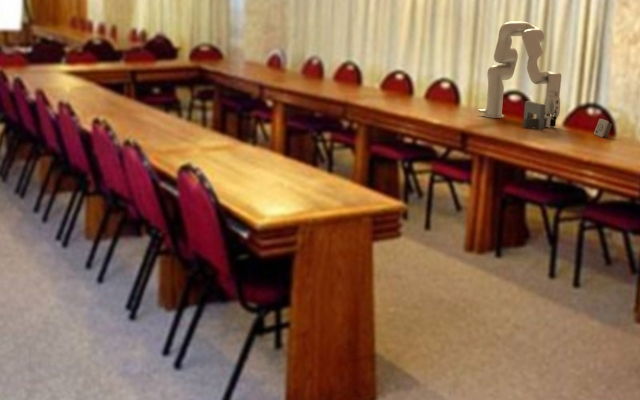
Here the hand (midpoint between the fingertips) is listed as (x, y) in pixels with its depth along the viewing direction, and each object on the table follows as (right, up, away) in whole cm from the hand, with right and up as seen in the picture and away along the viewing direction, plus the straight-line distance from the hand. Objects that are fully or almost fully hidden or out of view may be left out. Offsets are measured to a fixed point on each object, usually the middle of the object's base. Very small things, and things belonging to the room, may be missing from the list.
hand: (549, 125), depth 502 cm
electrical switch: (+22, -8, -26) cm, 35 cm away
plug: (-8, -1, -2) cm, 8 cm away
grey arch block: (-11, -1, -4) cm, 11 cm away
